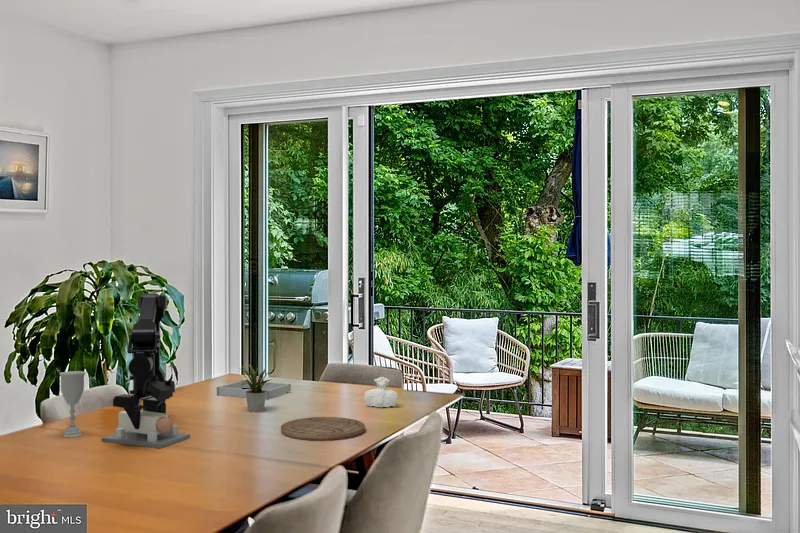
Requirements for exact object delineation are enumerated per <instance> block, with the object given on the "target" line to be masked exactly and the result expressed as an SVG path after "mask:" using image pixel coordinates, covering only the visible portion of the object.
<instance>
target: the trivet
mask: <svg viewBox="0 0 800 533" xmlns="http://www.w3.org/2000/svg"><path fill="white" fill-rule="evenodd" d="M364 431H366V425H365V423H364V422H362V421H360V420H357V419H354V418H348V417H347V418H346V417H341V416H340V417H337V416H336V417H335V416H314V417H304V418H303V417H302V418H298V419H297V418H296V419H292V420H289V421H287V422H284V423H283V424H281V425H280V433H281V435H283V436H284V437H287V438H290V439H293V440H299V441H307V442H330V441H332V442H333V441H342V440H348V438H349V439H354V438H356V436H357V437H359V435H360V436H361V435H363V434H364V433H365V432H364ZM362 433H363V434H362Z"/></svg>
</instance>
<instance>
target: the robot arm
mask: <svg viewBox="0 0 800 533" xmlns="http://www.w3.org/2000/svg"><path fill="white" fill-rule="evenodd" d="M137 309H138V311H139V315H138V316H139V317H138V321H137V322H135V323H134V324H133V326H132V329H131V331H129V335H128V343H127V354H132V355H133V357H132V359H131V360H130V362H129V363H128V372H129V373H130V374H131V375H130V376H129V380H130V381H131V380H132V386H133V387H132V389H131V390H129V394H128V393H127V394H125V393H124V394H119V395H115V396H114V397H113V398H112V407H116V408H123V411H126V413H127V414H128V416H129V418H130V420H131V422H132V424H133V426H134V428H135V429H139V425H140V411H141V410H143V411H150V412H157V413H164V414H167V403H166V400H169V399H170V398H173V397H174V393H175V392H176V390H175V389H176V385H175V381H174V380H173V379H170V380H167V379H166V373H165V372H164V370H163V368H162V367H161V321H162V319H163V318H164V316H165V314H166V310H167V309H168V298H167V297H166V296H165V295H163V294H162V295H160V294H158V293H156V292H152V293H150V292H149V293H148V292H147V293H145V292H144V293H141V295H139V296H137Z"/></svg>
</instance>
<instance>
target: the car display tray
mask: <svg viewBox="0 0 800 533" xmlns="http://www.w3.org/2000/svg"><path fill="white" fill-rule="evenodd" d="M239 381H240V382H239ZM249 381H250V383H251V384H252V382H251V380H249ZM242 382H243V383H247V382H245V381H244V380H237V381H234V382H231V383H227V384H223V385H220V386H216V396H221V395H223V396H222V397H233V396H236V397H235V398H237V397H238V398H245V397H246V391H250V390H251V389H250V390H249V389H241V388H250V386H249V384H244V385H242V386H241V384H242ZM260 383H261V382H260ZM268 383H270V384H268ZM267 384H268V385H267ZM291 385H292V383H281V382H271V381H268V382H266V383H265V384H264V386H263V387H262V389H263V388H264V390H265V391H267V393H266V399H265V400H270V399H273V397H274V398H277V397H279V395H280V396H282V395H281V394H283V395H285V394H284V393H286V394H287V392H289V391H291V390H292V388H291V387H292V386H291ZM289 393H290V392H289ZM276 396H277V397H276Z"/></svg>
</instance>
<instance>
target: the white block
mask: <svg viewBox="0 0 800 533" xmlns="http://www.w3.org/2000/svg"><path fill="white" fill-rule="evenodd" d="M117 424H118V425H117V426H118V427H117V428H125V431H130V432H136V433H142V434H148V432H150V431H153V432H157V435H158V434H162V433H169V432H170V431H171V429H172V426H173V425H174V424H173V419H172V418H171V417H169V413H166V414H164V413H157V412H150V411H143V409H141V411H140V425H139V429H135V428H134V426H133V424H132V422H131V420H130V418H129V416H128V414H127V413H126V411H125V410H121V411H119V412H118V423H117Z"/></svg>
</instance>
